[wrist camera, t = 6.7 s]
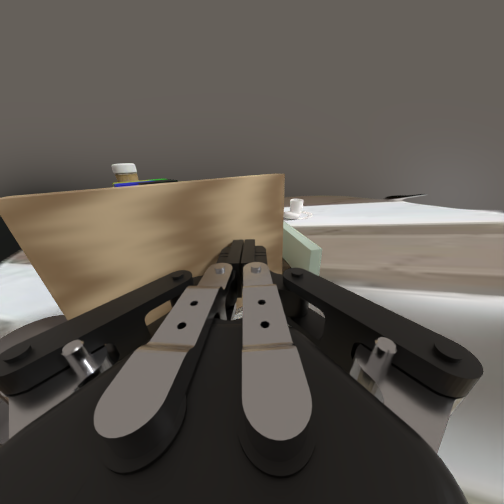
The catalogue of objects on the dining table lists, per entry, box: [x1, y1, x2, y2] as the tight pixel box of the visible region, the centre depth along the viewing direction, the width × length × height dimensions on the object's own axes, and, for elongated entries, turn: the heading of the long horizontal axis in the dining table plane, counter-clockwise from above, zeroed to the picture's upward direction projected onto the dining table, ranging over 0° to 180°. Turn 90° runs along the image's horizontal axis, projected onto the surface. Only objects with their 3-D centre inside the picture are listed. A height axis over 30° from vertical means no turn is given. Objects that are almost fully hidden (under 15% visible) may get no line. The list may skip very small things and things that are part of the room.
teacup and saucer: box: [283, 199, 313, 219], centre depth 46 cm, size 9×8×4 cm
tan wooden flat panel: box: [0, 174, 285, 405], centre depth 12 cm, size 18×4×10 cm, turn 119°
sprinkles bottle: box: [112, 163, 139, 183], centre depth 45 cm, size 5×5×13 cm
